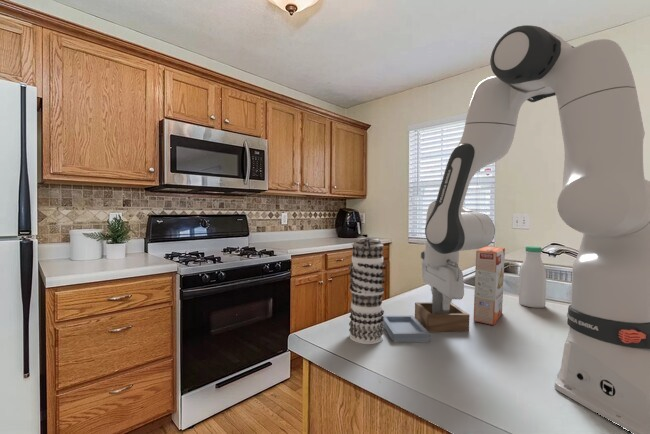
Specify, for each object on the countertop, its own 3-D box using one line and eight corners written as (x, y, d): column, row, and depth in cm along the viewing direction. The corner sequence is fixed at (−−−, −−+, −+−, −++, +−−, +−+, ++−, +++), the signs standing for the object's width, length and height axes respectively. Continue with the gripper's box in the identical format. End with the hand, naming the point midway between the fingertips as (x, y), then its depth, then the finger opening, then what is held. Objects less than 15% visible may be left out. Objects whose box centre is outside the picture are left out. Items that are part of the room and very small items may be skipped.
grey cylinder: (450, 327, 87) (451, 290, 87) (433, 326, 88) (433, 289, 88) (447, 321, 92) (448, 286, 92) (430, 320, 93) (431, 285, 93)
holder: (469, 331, 85) (469, 314, 85) (428, 331, 84) (428, 314, 84) (450, 317, 96) (451, 302, 96) (414, 317, 95) (415, 302, 95)
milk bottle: (550, 308, 105) (552, 248, 105) (527, 308, 105) (529, 248, 105) (535, 301, 113) (537, 245, 112) (513, 301, 113) (515, 245, 112)
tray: (429, 341, 78) (429, 333, 78) (393, 341, 78) (393, 333, 78) (412, 322, 91) (412, 315, 91) (381, 322, 91) (381, 315, 91)
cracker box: (495, 326, 89) (498, 251, 88) (472, 321, 92) (474, 249, 92) (504, 313, 100) (505, 247, 99) (482, 309, 103) (484, 245, 103)
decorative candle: (392, 338, 80) (394, 238, 79) (368, 348, 74) (369, 241, 73) (365, 327, 87) (366, 236, 86) (340, 336, 81) (341, 237, 80)
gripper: (471, 263, 79) (470, 318, 80) (438, 252, 100) (437, 296, 100) (446, 263, 79) (445, 319, 79) (418, 252, 99) (417, 296, 100)
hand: (440, 306), depth 90 cm, fingers closed on grey cylinder, 4 cm apart
